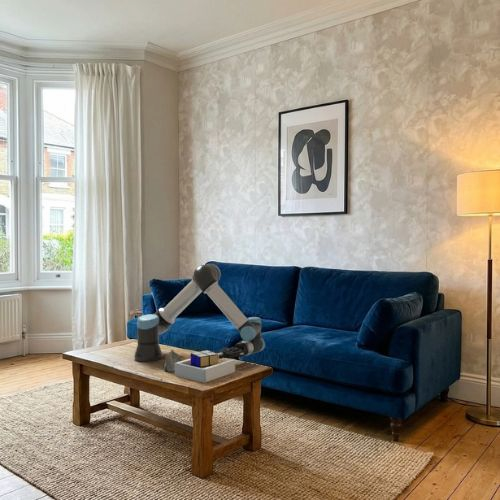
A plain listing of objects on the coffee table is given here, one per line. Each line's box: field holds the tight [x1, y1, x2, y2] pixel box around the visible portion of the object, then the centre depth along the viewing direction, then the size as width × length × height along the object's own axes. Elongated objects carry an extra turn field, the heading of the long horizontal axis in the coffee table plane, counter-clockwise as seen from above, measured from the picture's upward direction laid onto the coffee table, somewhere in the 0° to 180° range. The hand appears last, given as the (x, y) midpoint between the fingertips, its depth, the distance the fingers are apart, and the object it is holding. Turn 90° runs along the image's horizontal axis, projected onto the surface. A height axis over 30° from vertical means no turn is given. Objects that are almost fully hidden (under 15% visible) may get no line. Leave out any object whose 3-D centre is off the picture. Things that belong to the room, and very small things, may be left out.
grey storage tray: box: [174, 358, 236, 383], centre depth 239 cm, size 22×20×6 cm
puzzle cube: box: [190, 349, 219, 369], centre depth 240 cm, size 10×10×10 cm
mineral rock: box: [163, 349, 181, 373], centre depth 249 cm, size 13×11×10 cm
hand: (213, 357), depth 244 cm, fingers closed
